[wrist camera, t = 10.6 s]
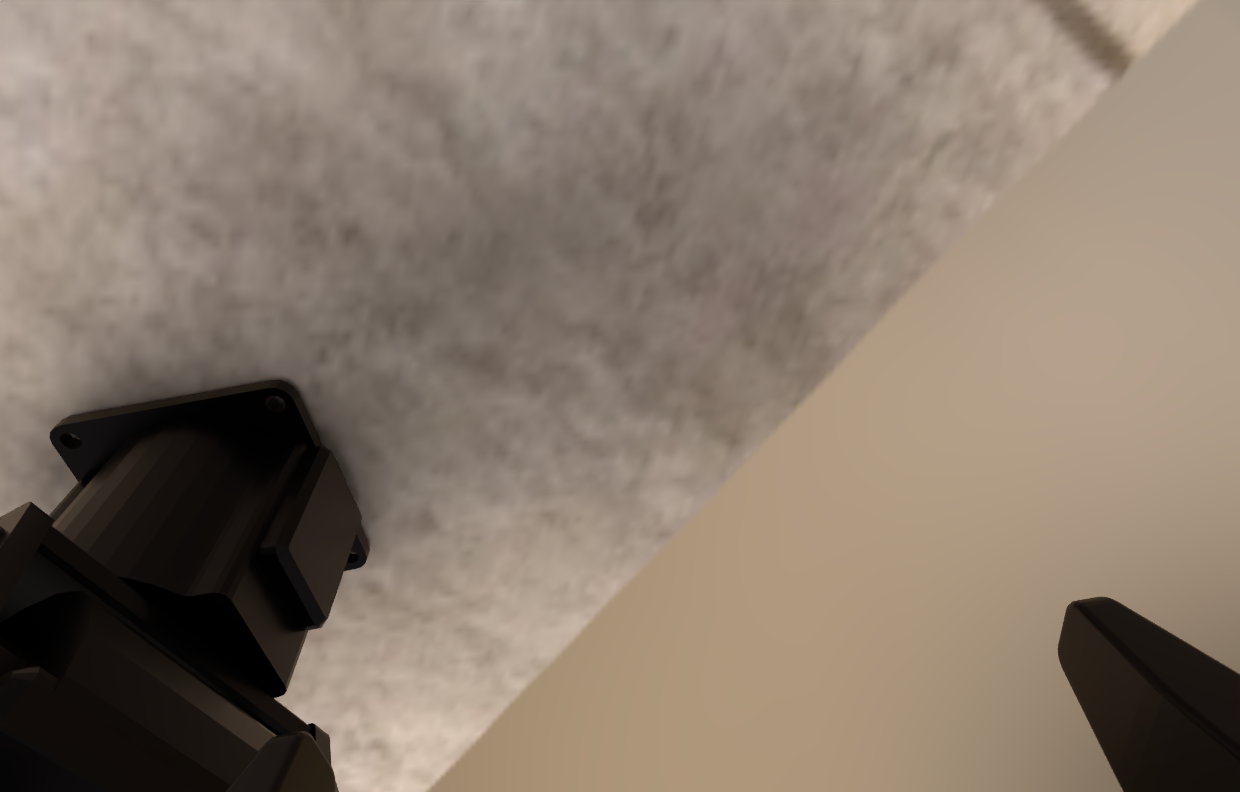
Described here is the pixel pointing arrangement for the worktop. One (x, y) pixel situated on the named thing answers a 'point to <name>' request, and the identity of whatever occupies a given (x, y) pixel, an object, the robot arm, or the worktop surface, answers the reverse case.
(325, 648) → the worktop surface
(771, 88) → the worktop surface
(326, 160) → the worktop surface
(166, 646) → the robot arm
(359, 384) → the worktop surface
